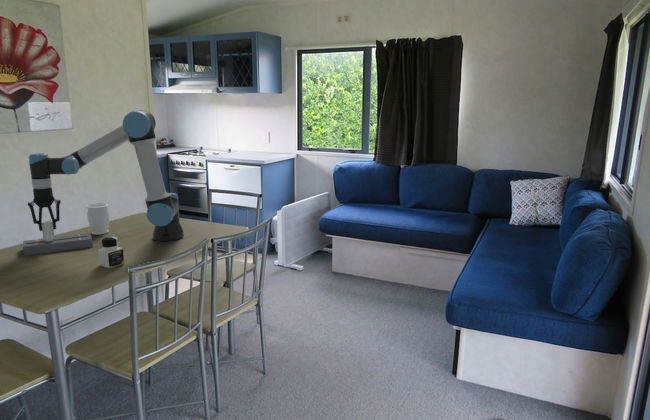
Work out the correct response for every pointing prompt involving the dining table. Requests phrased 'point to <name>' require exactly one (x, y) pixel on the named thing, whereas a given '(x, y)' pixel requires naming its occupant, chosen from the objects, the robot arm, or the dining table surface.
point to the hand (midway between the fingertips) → (48, 236)
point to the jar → (98, 218)
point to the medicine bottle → (110, 253)
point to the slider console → (57, 244)
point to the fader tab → (47, 230)
